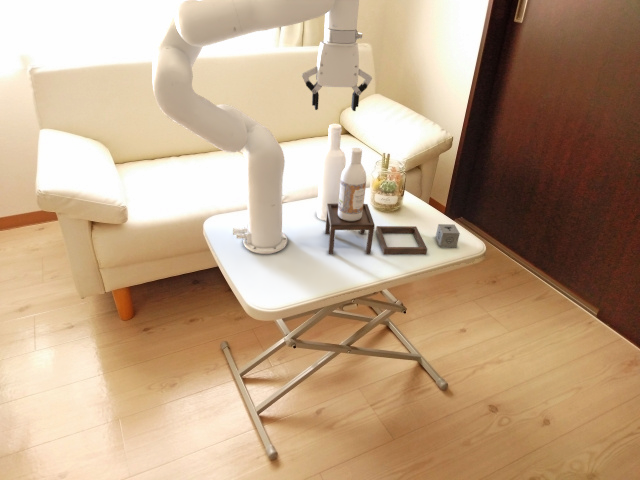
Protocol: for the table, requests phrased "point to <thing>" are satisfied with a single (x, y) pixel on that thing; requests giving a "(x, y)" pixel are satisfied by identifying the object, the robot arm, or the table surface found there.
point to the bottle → (330, 171)
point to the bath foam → (352, 188)
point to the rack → (371, 232)
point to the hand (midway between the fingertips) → (334, 109)
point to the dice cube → (447, 235)
